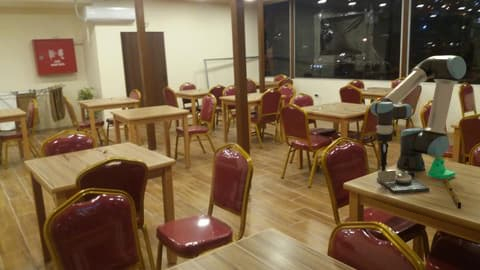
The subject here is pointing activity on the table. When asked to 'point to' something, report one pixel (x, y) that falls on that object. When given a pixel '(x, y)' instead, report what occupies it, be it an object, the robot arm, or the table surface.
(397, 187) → the stand
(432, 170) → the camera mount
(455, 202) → the spirit level
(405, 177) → the silver ladle
